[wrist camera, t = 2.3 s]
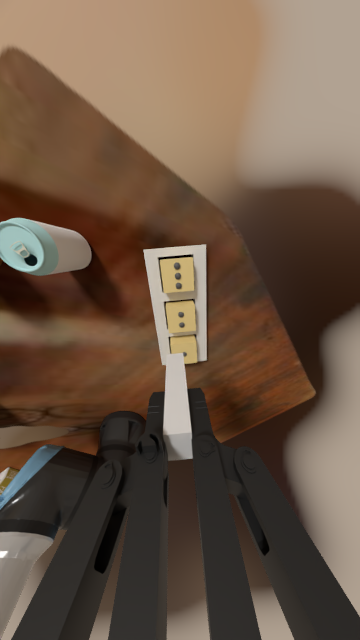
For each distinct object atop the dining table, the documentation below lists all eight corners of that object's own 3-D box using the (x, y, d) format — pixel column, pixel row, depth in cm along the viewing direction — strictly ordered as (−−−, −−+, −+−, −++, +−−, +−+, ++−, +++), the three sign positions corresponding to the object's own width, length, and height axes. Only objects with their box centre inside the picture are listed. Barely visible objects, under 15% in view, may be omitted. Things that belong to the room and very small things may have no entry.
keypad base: (204, 354, 42) (206, 360, 40) (162, 359, 42) (162, 365, 39) (203, 245, 30) (205, 244, 28) (145, 250, 30) (143, 249, 28)
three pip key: (192, 286, 32) (195, 290, 29) (164, 289, 32) (163, 293, 28) (191, 257, 29) (194, 257, 26) (160, 259, 29) (159, 260, 26)
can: (96, 241, 29) (52, 233, 18) (88, 275, 31) (45, 285, 20) (58, 222, 27) (-17, 201, 16) (52, 259, 30) (-16, 262, 19)
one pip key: (195, 353, 39) (198, 363, 36) (172, 356, 39) (173, 365, 36) (194, 334, 37) (197, 342, 33) (170, 336, 37) (170, 345, 33)
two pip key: (194, 323, 36) (196, 331, 32) (168, 326, 35) (168, 333, 32) (193, 300, 33) (196, 305, 30) (166, 302, 33) (165, 308, 30)
